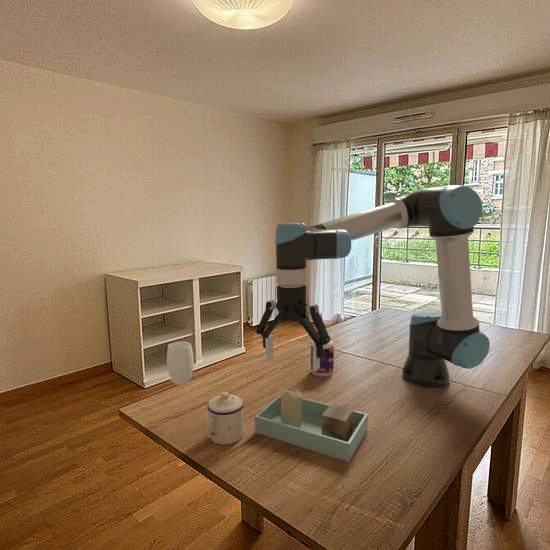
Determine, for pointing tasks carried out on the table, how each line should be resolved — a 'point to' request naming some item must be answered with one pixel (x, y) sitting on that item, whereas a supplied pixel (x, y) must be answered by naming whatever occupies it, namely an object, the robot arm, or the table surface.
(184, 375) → the grey rounded cylinder
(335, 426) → the walnut block
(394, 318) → the table surface
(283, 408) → the candle
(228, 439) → the teacup with lid
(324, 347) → the pill bottle
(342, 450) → the tote
